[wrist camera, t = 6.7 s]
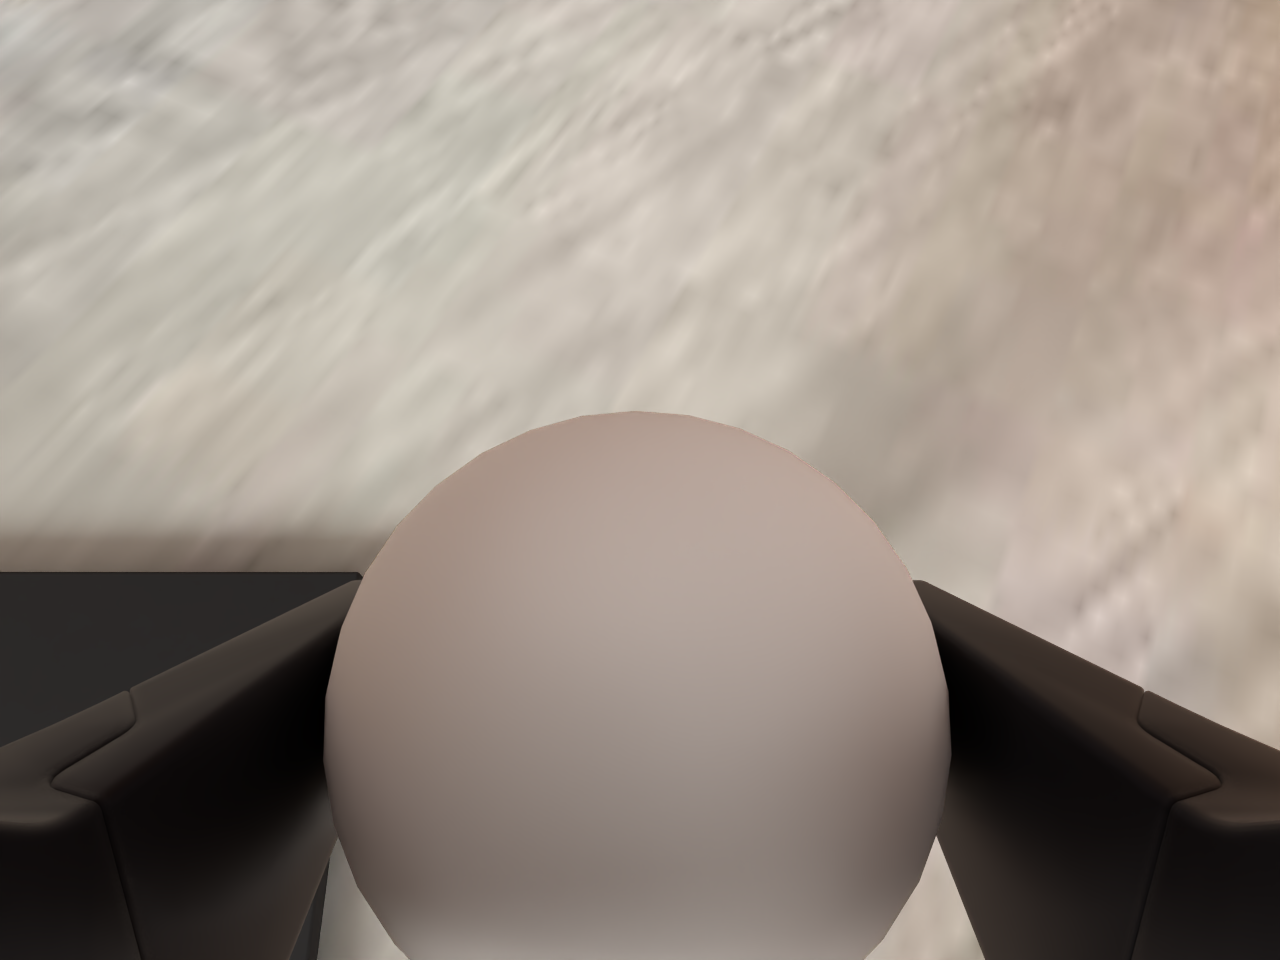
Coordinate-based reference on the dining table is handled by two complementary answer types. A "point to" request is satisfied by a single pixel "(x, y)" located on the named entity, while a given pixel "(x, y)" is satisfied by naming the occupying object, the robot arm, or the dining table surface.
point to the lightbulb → (637, 707)
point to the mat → (131, 643)
